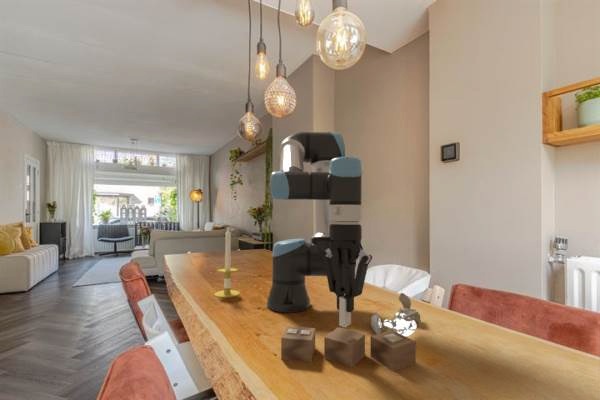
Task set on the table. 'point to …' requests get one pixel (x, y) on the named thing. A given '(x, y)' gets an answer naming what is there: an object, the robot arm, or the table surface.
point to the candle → (227, 271)
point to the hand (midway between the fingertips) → (345, 324)
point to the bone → (408, 308)
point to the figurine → (395, 324)
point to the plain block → (344, 347)
